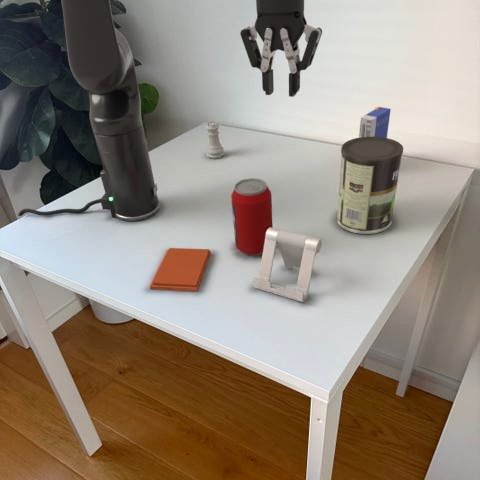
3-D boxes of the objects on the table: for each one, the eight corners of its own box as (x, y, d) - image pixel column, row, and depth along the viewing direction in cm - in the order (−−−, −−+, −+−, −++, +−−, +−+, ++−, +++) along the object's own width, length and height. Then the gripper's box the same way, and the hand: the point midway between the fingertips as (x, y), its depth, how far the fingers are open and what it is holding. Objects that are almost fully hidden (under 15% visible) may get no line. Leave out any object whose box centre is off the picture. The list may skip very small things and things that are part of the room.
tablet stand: (253, 290, 77) (250, 246, 72) (276, 264, 82) (275, 221, 77) (302, 305, 74) (303, 259, 68) (322, 277, 79) (325, 233, 73)
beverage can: (251, 233, 90) (247, 173, 82) (280, 244, 87) (279, 182, 79) (228, 250, 87) (221, 188, 79) (257, 262, 83) (254, 199, 75)
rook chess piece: (228, 153, 119) (225, 120, 114) (218, 160, 117) (214, 127, 111) (213, 150, 121) (209, 118, 116) (203, 157, 119) (198, 124, 113)
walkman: (373, 158, 111) (379, 104, 103) (383, 161, 110) (391, 107, 102) (354, 171, 107) (359, 116, 99) (365, 174, 106) (371, 118, 98)
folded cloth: (150, 289, 80) (149, 283, 79) (168, 252, 88) (167, 246, 87) (197, 291, 78) (196, 285, 77) (211, 253, 86) (210, 248, 85)
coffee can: (391, 207, 94) (402, 135, 85) (392, 236, 86) (405, 160, 77) (337, 206, 96) (342, 135, 87) (334, 233, 88) (339, 159, 79)
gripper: (227, -20, 73) (235, 98, 84) (317, -23, 68) (313, 104, 79) (247, -28, 78) (252, 86, 89) (332, -30, 73) (326, 90, 84)
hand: (281, 94), depth 84 cm, fingers open, 3 cm apart
